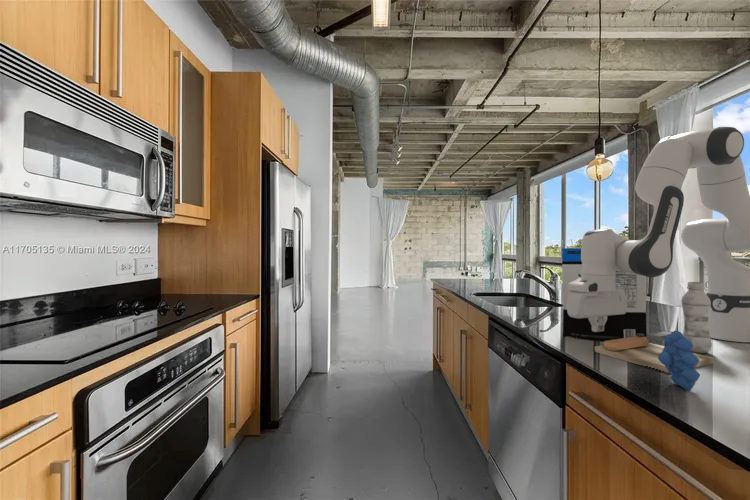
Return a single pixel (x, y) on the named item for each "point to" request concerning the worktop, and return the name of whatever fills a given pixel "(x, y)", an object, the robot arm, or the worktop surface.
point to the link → (625, 343)
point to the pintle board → (649, 353)
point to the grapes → (680, 360)
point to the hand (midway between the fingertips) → (597, 331)
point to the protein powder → (615, 324)
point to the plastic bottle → (696, 317)
